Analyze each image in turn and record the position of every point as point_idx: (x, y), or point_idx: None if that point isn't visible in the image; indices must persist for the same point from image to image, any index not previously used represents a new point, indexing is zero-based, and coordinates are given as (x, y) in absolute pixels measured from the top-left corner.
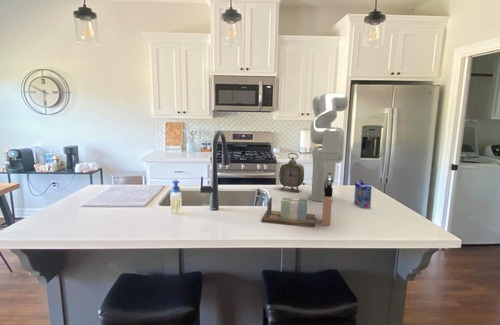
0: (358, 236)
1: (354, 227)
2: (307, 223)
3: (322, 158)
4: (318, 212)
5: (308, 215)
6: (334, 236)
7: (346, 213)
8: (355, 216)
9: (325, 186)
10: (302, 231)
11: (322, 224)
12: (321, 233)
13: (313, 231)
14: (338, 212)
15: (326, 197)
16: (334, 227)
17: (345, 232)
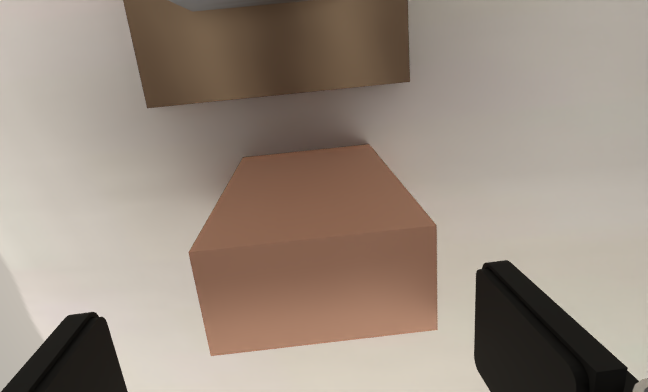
0: (133, 388)
1: (286, 364)
2: (132, 37)
3: None
4: (554, 93)
5: (361, 16)
6: (48, 259)
7: (573, 307)
8: None
9: (528, 337)
10: (4, 11)
11: (243, 159)
12: (52, 170)
13: (58, 105)
14: (587, 252)
15: (319, 278)
16: None
17: (163, 319)
